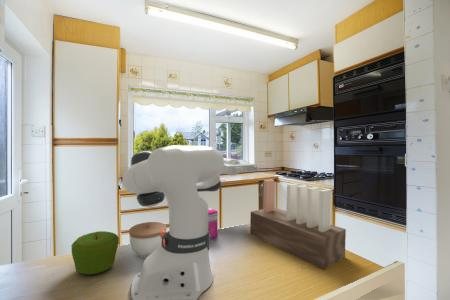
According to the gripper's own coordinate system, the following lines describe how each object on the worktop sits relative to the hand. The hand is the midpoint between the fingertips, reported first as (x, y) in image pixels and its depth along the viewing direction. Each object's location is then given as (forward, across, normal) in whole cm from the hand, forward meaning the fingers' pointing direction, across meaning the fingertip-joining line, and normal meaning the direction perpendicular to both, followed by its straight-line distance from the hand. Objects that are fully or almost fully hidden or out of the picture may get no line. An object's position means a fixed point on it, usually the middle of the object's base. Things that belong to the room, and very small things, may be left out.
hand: (250, 169), depth 108 cm
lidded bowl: (-1, +49, -28) cm, 56 cm away
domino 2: (+25, 0, -17) cm, 30 cm away
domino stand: (+25, 0, -27) cm, 37 cm away
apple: (0, +65, -28) cm, 71 cm away
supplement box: (0, +24, -28) cm, 36 cm away
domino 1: (+12, 0, -17) cm, 21 cm away
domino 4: (+34, 0, -17) cm, 38 cm away
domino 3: (+29, 0, -17) cm, 34 cm away
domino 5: (+38, 0, -17) cm, 42 cm away
